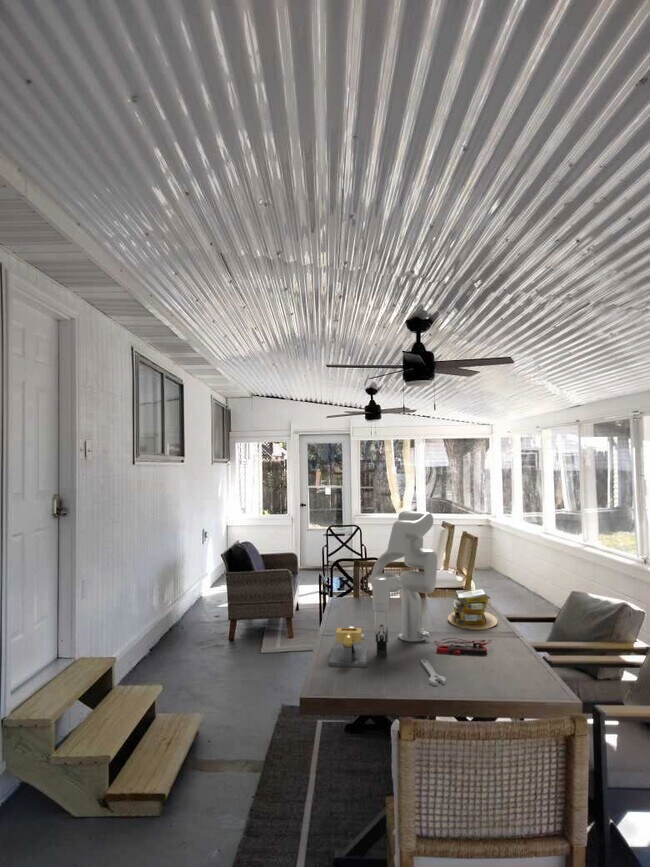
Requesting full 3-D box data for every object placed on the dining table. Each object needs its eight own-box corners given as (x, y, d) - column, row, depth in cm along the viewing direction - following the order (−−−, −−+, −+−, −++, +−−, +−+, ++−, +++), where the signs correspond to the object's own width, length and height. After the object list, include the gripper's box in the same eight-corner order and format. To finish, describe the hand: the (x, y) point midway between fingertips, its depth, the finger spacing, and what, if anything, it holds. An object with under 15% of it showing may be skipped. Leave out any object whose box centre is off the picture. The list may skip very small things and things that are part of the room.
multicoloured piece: (334, 646, 249) (333, 621, 250) (367, 647, 248) (366, 622, 248) (329, 665, 225) (329, 638, 225) (366, 667, 223) (365, 638, 224)
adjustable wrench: (420, 663, 229) (420, 659, 229) (435, 663, 229) (435, 659, 229) (430, 686, 204) (430, 681, 204) (447, 686, 204) (447, 681, 204)
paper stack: (496, 631, 272) (495, 597, 273) (445, 626, 280) (445, 593, 281) (497, 618, 295) (497, 587, 297) (450, 614, 303) (450, 584, 305)
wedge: (375, 654, 238) (375, 626, 239) (387, 655, 238) (387, 626, 238) (375, 656, 236) (375, 627, 237) (387, 656, 236) (387, 628, 236)
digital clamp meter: (495, 648, 235) (435, 644, 239) (495, 658, 234) (435, 655, 238) (488, 631, 257) (434, 629, 262) (488, 641, 257) (434, 639, 261)
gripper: (372, 601, 247) (373, 641, 246) (372, 611, 230) (372, 653, 229) (389, 601, 247) (390, 641, 245) (390, 611, 229) (390, 654, 228)
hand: (381, 647), depth 237 cm, fingers open, 8 cm apart
